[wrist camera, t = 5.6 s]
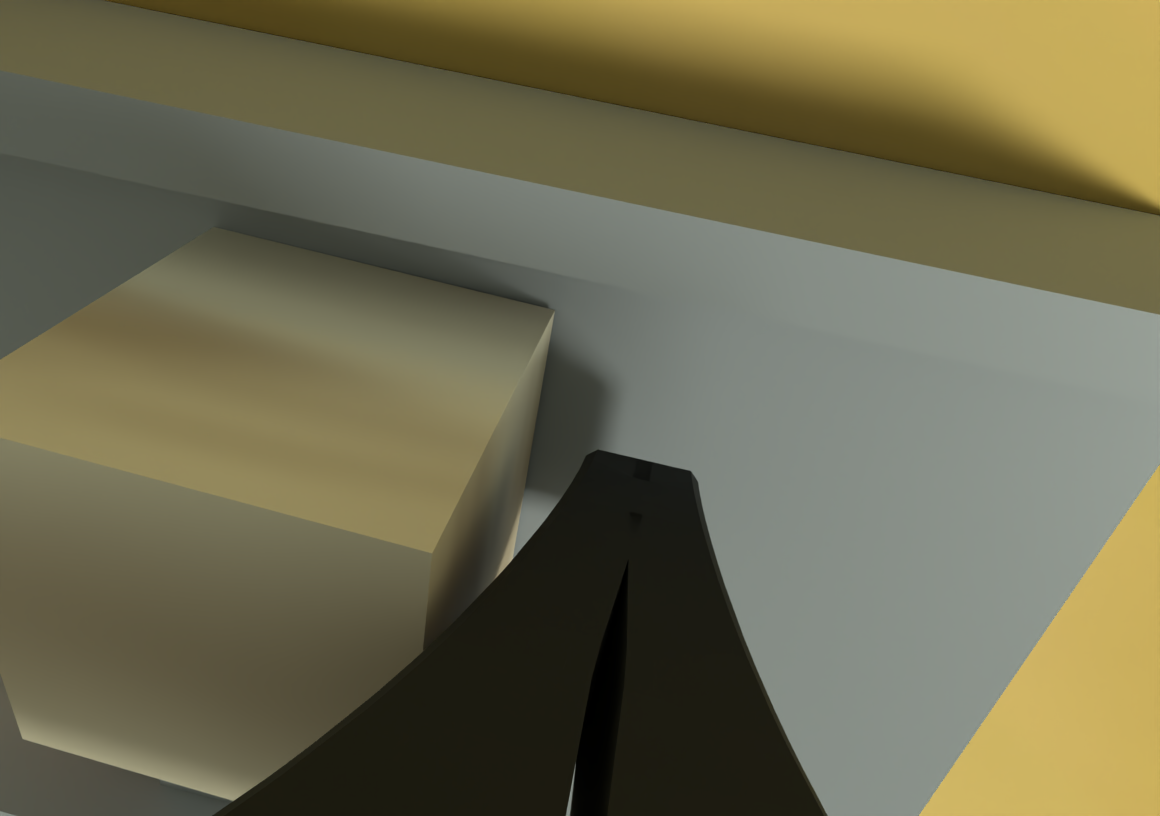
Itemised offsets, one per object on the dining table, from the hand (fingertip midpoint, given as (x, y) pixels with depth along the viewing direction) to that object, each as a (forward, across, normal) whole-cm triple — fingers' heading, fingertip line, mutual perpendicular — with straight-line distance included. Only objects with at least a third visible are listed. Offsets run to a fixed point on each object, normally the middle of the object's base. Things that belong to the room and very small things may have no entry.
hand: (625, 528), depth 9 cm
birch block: (+1, +3, 0) cm, 3 cm away
